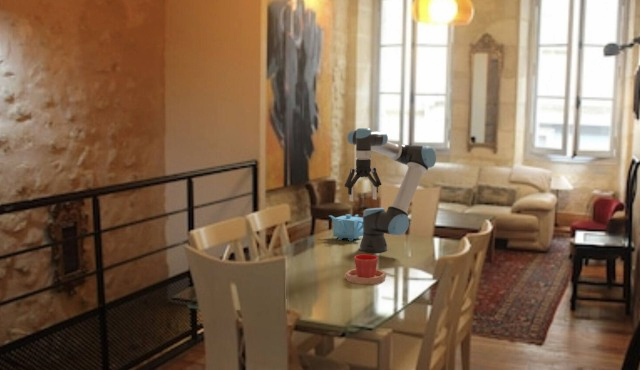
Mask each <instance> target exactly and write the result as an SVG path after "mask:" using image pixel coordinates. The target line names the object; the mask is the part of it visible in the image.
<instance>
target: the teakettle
mask: <svg viewBox="0 0 640 370" xmlns="http://www.w3.org/2000/svg"><path fill="white" fill-rule="evenodd" d="M329 217H330V218H331V221H332V226H333V228H332V229H333V230H332V234H333V236H332V237H334V238H335V237H336V238H337V240H338V241H340V240H341V241H342V239H343V240H344V239H348V240H349V242H353V241H354V240H359V238H360V237H363V217H360V216H359V214H355V215H353V216H352V214H351V213H350V214H349V213H348V214H347V213H346V214H345V215H341V216H338V217H335V216H333V215H329Z"/></svg>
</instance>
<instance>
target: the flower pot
mask: <svg viewBox="0 0 640 370" xmlns="http://www.w3.org/2000/svg"><path fill="white" fill-rule="evenodd" d="M353 259H354V265H355V269H356V271H357V276H358V277H363V278H371V277H374V276H375V271H376V269H377V267H378V266H377V265H378V261H379V257H378V256H376V255H374V254H356V255H355V256H354V258H353Z"/></svg>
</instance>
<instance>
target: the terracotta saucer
mask: <svg viewBox="0 0 640 370" xmlns="http://www.w3.org/2000/svg"><path fill="white" fill-rule="evenodd" d="M344 275H345V279H346V281H347V282H350V283H352V284H357V285H378V284H380V283H384V282H385V281H386V278H387V272H385V271H382V270H380V269H378V268H376V271H375V276H374V277H371V278H363V277H358V276H357V271H356V268H354V269H349V270H348V271H347V272H346V273H345V274H344Z"/></svg>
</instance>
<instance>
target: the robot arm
mask: <svg viewBox="0 0 640 370" xmlns="http://www.w3.org/2000/svg"><path fill="white" fill-rule="evenodd" d="M388 137H389V136H388V135H387V133H386V132H385V131H381V130H380V131H379V130H378V131H372V130H371V128H368V127H367V128H366V127H365V128H356V129H354V130H351V131H349V132H348V134H347V142H348V144H350V145H353V146H355V158H356V159H355V168H350V171H349V174H348V177H347V180H345V181H346V182H345V184H344V187H345V188H346V189H347V194H348V196H349V199H348V200H349V202H354V188H353V187H354V185H355V184H356V183H357V181H358V180H359V179H360V178H367V179H368V180H369V181H370V182H371V183H372V185H373V186H372V200H378V199H377V196H378V194H377V193H379V187H380V186H381V185H382V182H381V179H380V177H379V175H378V173H377V168H376V167H371V165H372V164H371V163H372V162H371V161H372V160H371V157H372V154H371V153H372V151H373V152H376V153H379V154H381V155H384V156H387V157H388V158H389V159H390V160H392V161H395V162H398V163H400V164H403V165H405V166H407V170H406V173H405V175H404V177H403V180H402V182H401V184H400V187H399V188H398V191H397V193H396V196H395V198H394V201H393V203H392V204H391V205H389V206H388V208H387V209H386V211H385V208H384V207H374V208H373V207H372V208H366V209H364V210H363V215H362V218H363V236H362V238H361V241H360V243H359V250H360V251H362V252H367V253H382V252H386V251H387V250H388V244H387V241H386V238H385V234H386V235H387V234H388V235H391V236H401V235H402V236H403V234H405V233H406V232H407V231H408V229H409V226H410V223H409V222H410V218H409V214H408V213H409V212H408V210H409V207H410V205H411V203H412V201H413V198H414V195H415V193H416V191H417V188H418V186H419V184H420V181H421V179H422V177H423V175H424V174H426V173H427V172H428V169H429V168H430V169H431V168H433V167H434V166H435V165H436V162H437V161H436V160H437V155H436V151H435V150H434V148H433V147H431V146H429V145H414V144H400V143H398V142H395V143H394V142H390V141H388V139H389V138H388ZM371 173H372V174H371ZM372 175H373V176H372Z"/></svg>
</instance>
